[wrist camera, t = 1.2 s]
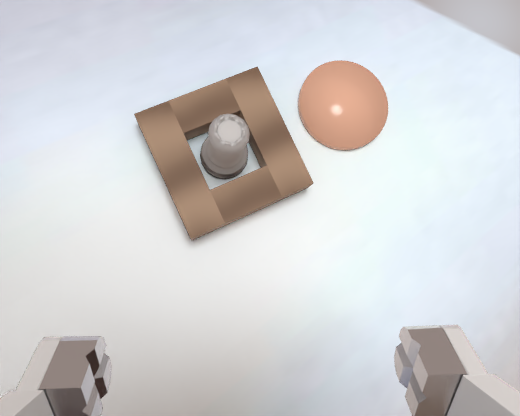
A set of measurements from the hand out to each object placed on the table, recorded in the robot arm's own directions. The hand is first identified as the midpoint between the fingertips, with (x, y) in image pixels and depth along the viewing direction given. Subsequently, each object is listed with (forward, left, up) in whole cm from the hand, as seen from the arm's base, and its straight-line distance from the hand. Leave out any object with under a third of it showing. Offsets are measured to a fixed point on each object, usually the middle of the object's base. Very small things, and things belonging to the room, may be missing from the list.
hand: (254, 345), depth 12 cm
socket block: (-11, +6, -27) cm, 30 cm away
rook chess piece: (-11, +6, -28) cm, 30 cm away
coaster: (-11, +19, -27) cm, 35 cm away
